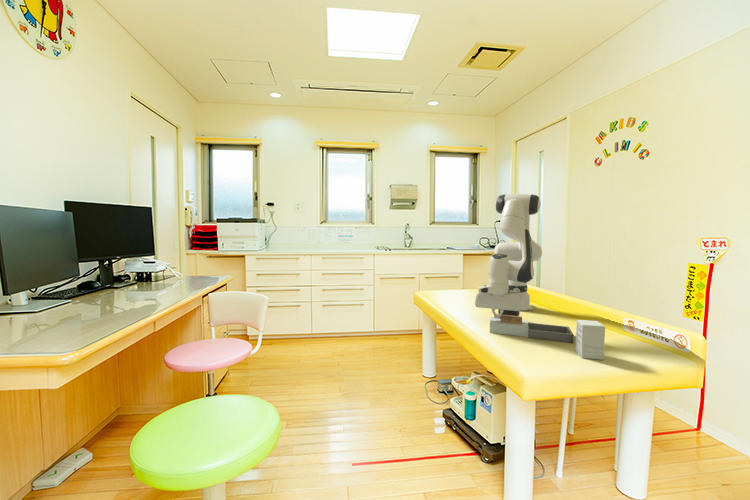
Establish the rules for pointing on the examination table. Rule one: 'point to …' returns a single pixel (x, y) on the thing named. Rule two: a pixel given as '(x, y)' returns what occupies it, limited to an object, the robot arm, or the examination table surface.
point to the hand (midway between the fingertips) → (497, 318)
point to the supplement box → (590, 339)
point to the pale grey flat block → (508, 328)
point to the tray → (550, 332)
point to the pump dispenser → (509, 312)
